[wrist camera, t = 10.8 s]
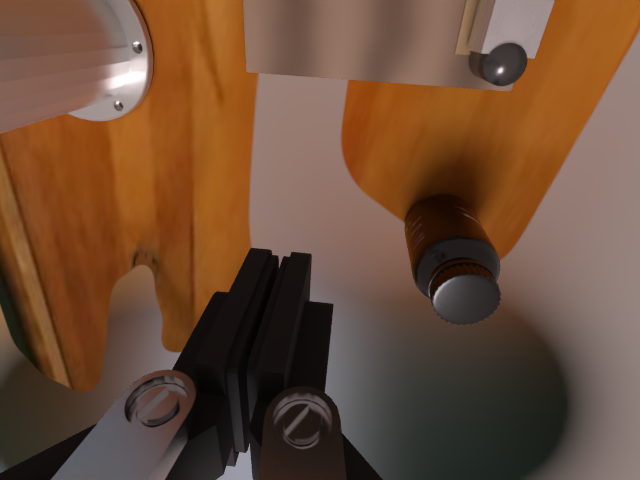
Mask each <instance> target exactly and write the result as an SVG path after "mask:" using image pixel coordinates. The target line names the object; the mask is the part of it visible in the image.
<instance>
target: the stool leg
mask: <svg viewBox="0 0 640 480" xmlns="http://www.w3.org/2000/svg"><path fill="white" fill-rule="evenodd" d="M554 1H555V0H479V4H478V8H477V12H476V15H475V19H474V23H473V27H472V31H471V35H470V39H469V43H468V46H467V50H470V51H472V53H471V55H470V59H469V68H470V70H471V72H472V73H473V75H475V76H476V77H478V78H481V79H483V80H485V81H487V82H489V83H491V84H493V85H496V86H507V85H510V84H512V83H514V82H515V81H517V80H518V79H519V78H520V77H521V75H522V74H523V72H524V71H525V68H526V65H527V58H535V55H536V53H537V50H538V47H539V44H540V41H541V38H542V35H543V32H544V30H545V27H546V24H547V21H548V18H549V15H550V12H551V10H552V7H553V4H554Z"/></svg>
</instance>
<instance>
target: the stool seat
mask: <svg viewBox="0 0 640 480" xmlns="http://www.w3.org/2000/svg"><path fill="white" fill-rule="evenodd" d="M478 4H479V0H243V8H244V30H245V52H246V72H253V73H266V74H280V75H295V76H308V77H321V78H336V79H349V80H362V81H376V82H390V83H404V84H417V85H431V86H445V87H458V88H472V89H486V90H499V91H512V88H513V84H514V83H512V84H510V85H507V86H496V85H493V84H491V83H489V82H487V81H485V80H483V79H481V78H478V77H476V76H475V75H473V73H472V72H471V70H470V68H469V59H470V55H471V53H472V51H470V50H467V46H468V43H469V39H470V35H471V31H472V27H473V23H474V19H475V15H476V12H477V8H478Z"/></svg>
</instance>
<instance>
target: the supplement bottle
mask: <svg viewBox="0 0 640 480" xmlns="http://www.w3.org/2000/svg"><path fill="white" fill-rule="evenodd" d="M405 237H406V243H407V248H408V254H409V260H410V265H411V271H412V275H413V279H414V283H415V285H416V287H417V288H418V290H419V291H420V292H421V293H422V294H423V295H424V296H425V297H427V298H428V299H430V300H431V303H432V306H433V308H434V311H435V312H436V313H437V315H438V316H440V317H441V318H442V319H444V320H445V321H446V322H450V323H452V324H457V325H459V324H462V325H466V324H473V323H478V322H479V321H483V320H484V319H486V318H488V317H489V316H490V315H491V314H493V313H494V311H495V310H496V309H497V307H498V305H499V304H500V303H499V301H500V300H501V298H500V295H501V292H500V290H499V286H498V284H497V280H498V277H499V274H500V260H499V256H498V254H497V252H496V250H495V248H494V246H493V244H492V243H491V241H490V239H489V238H488V236H487V234H486V232H485V231H484V229H483V227H482V225H481V224H480V222H479V220H478V218H477V217H476V215H475V213H474V212H473V210H472V209H471V207H470V206H469V205H468V204H467V203H466V202H465V201H463V200H461V199H460V198H457V197H454V196H451V195H436V196H431V197H428V198H426V199H424V200H422V201H420V202H419V203H418V204H416V205H415V206H414V207H413V208H412V210H411V211H410V212H409V214H408V216H407V218H406V221H405Z"/></svg>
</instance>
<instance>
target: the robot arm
mask: <svg viewBox="0 0 640 480" xmlns="http://www.w3.org/2000/svg"><path fill="white" fill-rule="evenodd" d="M141 45H142V48H143V50H142V49H141ZM152 76H153V51H152V43H151V40H150V36H149V33H148V29H147V26H146V24H145V22H144V20H143V17H142V15H141V13H140V11H139V9H138V7H137V6H136V4H135V2H134V1H133V0H0V134H1V133H4V132H7V131H11V130H14V129H17V128H20V127H24V126H27V125H30V124H33V123H37V122H40V121H43V120H47V119H50V118H53V117H56V116H60V115H63V114H66V113H67V114H69V115H72V116H75V117H78V118H80V119H85V120H90V121H108V120H112V119H116V118H119V117H121V116H124V115H126V114H128V113H129V112H131V111H132V110H134V109H135V108H136V107H137V106H138V105H139V104H140V103H141V102H142V100H143V99H144V98H145V96H146V94H147V92H148V90H149V88H150V84H151V80H152ZM311 258H312V255H311V254H307V253H297V252H292V253H291V255H290V257H286V256H284V257H283V259H282V262H281V265H280V268H279V258H278V256H276V255H272V251H271V250H268V249H257V248H251V249H250V250H249V252H248V254H247V256H246V258H245V260H244V262H243V264H242V266H241V268H240V270H239V273H238V275H237V277H236V279H235V281H234V283H233V285H232V287H231V289H230V291H229V293H228V292H219V291H217V292H216V293H214V295H213V296H212V298H211V300H210V301H209V303H208V305H207V307H206V309H205V311H204V312H203V314H202V316H201V318H200V320H199V322H198V323H197V325H196V327H195V329H194V331H193V333H192V334H191V336H190V338H189V340H188V342H187V343H186V345H185V347H184V349H183V351H182V353H181V354H180V356H179V358H178V360H177V362H176V364H175V366H174V367H173V369H172V370H161V371H155V372H153V373H150V374H147V375H144V376H143V377H141V378H140V379H138V380H136V381H135V382H133V383H132V384H131V385H130V386H129V387H128V388H127V389H126V390H125V391H124V392H123V393H122V395H121V396H120V397H119V398H118V399H117V401H116V402H115V403H114V404H113V405H112V407H111V408H110V409H109V410H108V411H107V413H106V414H105V415H104V416H103V418H102V419H101V420H100V421H99V422H98V423H97V424H95V425H93V426H91V427H89V428H87V429H85V430H83V431H81V432H79V433H78V434H76V435H73V436H72V437H70V438H68V439H66V440H64V441H62V442H60V443H58V444H56V445H54V446H52V447H50V448H48V449H46V450H44V451H42V452H40V453H39V454H37V455H35V456H33V457H31V458H29V459H27V460H25V461H23V462H21V463H19V464H17V465H15V466H13V467H11V468H9V469H7V470H6V471H4V472H2V473H0V480H216V479H217V478H219V477H220V476H222V475H223V474H224V471H225V468H226V465H227V466H235V465H236V461H237V458H238V454H239V452H243V453H246V452H247V450H248V447H249V443H250V451H251V464H252V475H253V480H383V479H382V478H381V477H380V476H379V475H378V474H377V473H376V471H375V470H374V469H373V468H372V467H371V466H370V465H369V463H368V462H367V461H366V460H365V459H364V458H363V456H362V455H361V454H360V453H359V452H358V451H357V450H356V448H355V447H354V446H353V445H352V444H351V443H350V442H349V440H348V439H347V438H346V437H345V436H344V435H343V434H342V430H341V420H340V415H339V412H338V408H337V406H336V405H335V403H334V402H333V400H332V399H331V398H330V397H329V396H328V395H327V394H325V385H326V374H327V365H328V355H329V344H330V335H331V324H332V314H333V304H329V303H321V302H312V301H309V300H310V299H309V298H310V279H311V260H312V259H311Z"/></svg>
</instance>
